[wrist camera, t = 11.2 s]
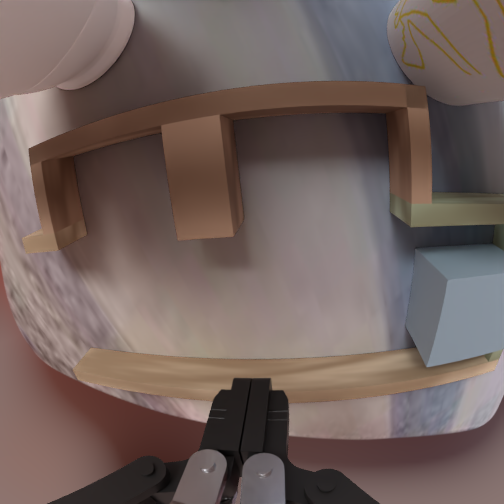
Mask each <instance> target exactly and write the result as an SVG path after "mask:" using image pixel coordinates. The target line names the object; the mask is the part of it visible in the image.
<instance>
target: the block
mask: <svg viewBox="0 0 504 504" xmlns="http://www.w3.org/2000/svg"><path fill="white" fill-rule="evenodd" d="M405 326H406V328H407V330H408V331H409V333H410V335H411V337H412V339H413V341H414V343H415V345H416V347H417V349H418V351H419V353H420V355H421V357H422V359H423V361H424V363H425V365H426V367H432V366H437V365H442V364H447V363H451V362H456V361H460V360H464V359H469V358H473V357H477V356H481V355H484V354H488V353H492V352H495V351H499V350H502V349H504V251H503V250H502V249H500V248H499V247H497V246H496V245H494V244H492V243H489V244H473V245H457V246H441V247H424V248H415V258H414V268H413V276H412V284H411V292H410V299H409V305H408V311H407V317H406V323H405Z"/></svg>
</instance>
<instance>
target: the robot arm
mask: <svg viewBox="0 0 504 504" xmlns="http://www.w3.org/2000/svg"><path fill="white" fill-rule="evenodd" d="M288 435H289V403H288V398H287V396H286V394H285V392H284V390H272V381H271V378H253V379H252V378H234V379H233V382H232V387H231V390H225V389H221V390H220V391H219V393H218V394H217V395H216V396H215V397H214V399H213V403H212V406H211V410H210V414H209V418H208V421H207V424H206V428H205V431H204V435H203V438H202V442H201V445H200V448H199V450H198V452H196V453H194V454H193V455H192V456H191V457H190V458H189V459H187V460H184V461H178V462H168V463H163V461H161V459H159V458H157V457H154V456H143V457H141V458H138V459H137V460H135V461H133V462H131V463H130V464H128V465H126V466H124V467H123V468H121V469H119V470H117V471H115V472H113V473H111V474H109V475H108V476H106V477H104V478H102V479H100V480H98V481H96V482H94V483H92V484H90V485H88V486H86V487H84V488H82V489H79V490H77V491H75V492H73V493H71V494H69V495H67V496H64V497H62V498H60V499H57V500H55V501H52V502H50V503H48V504H235V501H236V498H237V494H238V482H239V477H242V485H241V499H240V504H379V503H378V502H377V501H376V500H374V499H373V498H372V497H370V496H369V495H368V494H367V493H365V492H364V491H363V490H362V489H360V488H359V487H358V486H357V485H356V484H354V483H353V482H352V481H351V480H350V479H348V478H347V477H346V476H345V475H344V474H342V473H341V472H339V471H337V470H334V469H322V470H319V471H316V472H312V471H308V470H304V469H300V468H298V467H296V466H294V465H293V464H292V463H291V462H290V461H289V460H288V458H287V455H288Z"/></svg>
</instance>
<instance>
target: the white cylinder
mask: <svg viewBox="0 0 504 504" xmlns="http://www.w3.org/2000/svg"><path fill="white" fill-rule="evenodd" d="M387 36H388V41H389V45H390V48H391V51H392V53H393V55H394V57H395V59H396V61H397V63H398V65H399V66H400V68H401V69H402V71H403V72H404V73H405V75H406V76H407V77H408V78H409V79H410V80H411V81H412V83H413V84H415V85H418V86H425V87H426V94H427V95H428V96H430V97H431V98H433V99H435V100H437V101H439V102H442V103H444V104H448V105H453V106H464V105H471V104H479V103H487V102H495V101H504V0H400V1H399V2H398V3H397V4H396V5H395V7H394V8H393V9H392V11H391V13H390V15H389V18H388V22H387Z"/></svg>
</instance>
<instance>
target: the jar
mask: <svg viewBox="0 0 504 504" xmlns="http://www.w3.org/2000/svg"><path fill="white" fill-rule="evenodd" d="M134 19H135V12H134V6H133V3H132V1H131V0H0V99H2V98H6V97H10V96H13V95H21V94H28V93H34V92H39V91H43V90H46V89H49V88H52V87H55V86H56V87H58V88H60V89H64V90H74V89H79V88H82V87H84V86H87V85H89V84H90V83H92V82H94V81H95V80H97V79H98V78H99V77H100V76H102V75H103V74H104V73H105V72H106V71H107V70H108V69H109V68H110V67H111V66H112V65H113V64H114V63H115V61H116V60H117V59H118V57H119V56H120V54H121V53H122V51H123V50H124V48H125V46H126V44H127V42H128V40H129V38H130V35H131V33H132V29H133V25H134Z"/></svg>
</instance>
